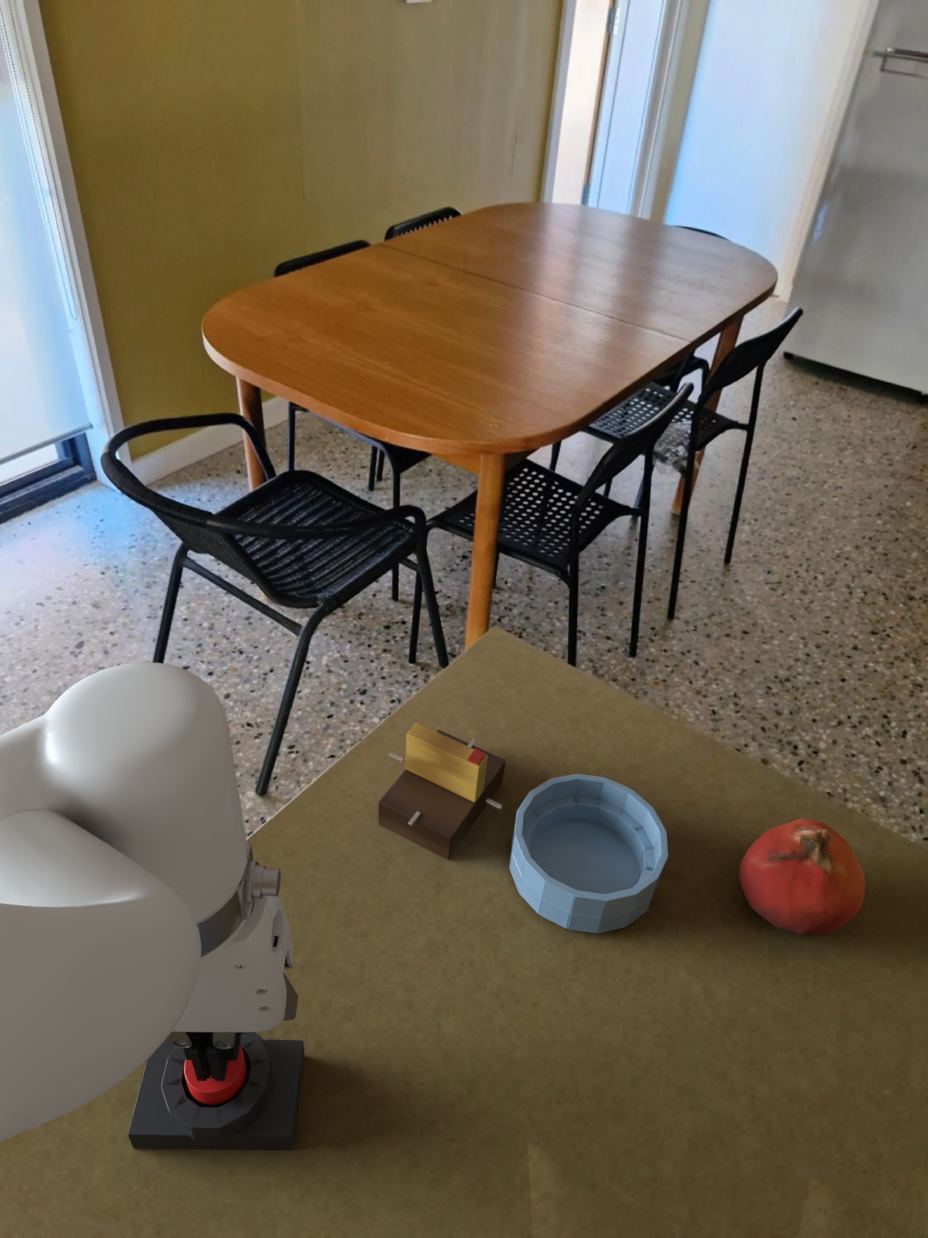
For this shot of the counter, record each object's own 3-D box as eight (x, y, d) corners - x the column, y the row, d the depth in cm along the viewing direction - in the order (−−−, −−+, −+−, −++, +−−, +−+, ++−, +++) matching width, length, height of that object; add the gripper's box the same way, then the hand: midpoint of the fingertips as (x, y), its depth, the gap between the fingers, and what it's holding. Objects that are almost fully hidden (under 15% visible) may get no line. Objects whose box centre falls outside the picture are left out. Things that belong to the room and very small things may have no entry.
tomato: (857, 890, 75) (892, 831, 70) (833, 977, 68) (870, 919, 63) (749, 840, 78) (775, 780, 73) (717, 919, 72) (743, 859, 66)
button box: (132, 1153, 56) (120, 1127, 53) (158, 1049, 61) (149, 1020, 58) (292, 1155, 56) (289, 1129, 54) (305, 1051, 61) (302, 1023, 59)
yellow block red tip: (404, 769, 78) (406, 731, 75) (414, 757, 79) (416, 720, 76) (475, 803, 75) (479, 765, 72) (483, 790, 76) (488, 753, 73)
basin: (623, 963, 68) (636, 927, 65) (483, 890, 72) (488, 853, 69) (674, 850, 76) (687, 813, 73) (546, 791, 81) (554, 754, 77)
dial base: (466, 877, 73) (469, 853, 71) (353, 818, 77) (353, 795, 75) (526, 787, 81) (530, 764, 79) (421, 738, 85) (422, 715, 83)
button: (181, 1105, 55) (177, 1093, 54) (194, 1046, 57) (191, 1033, 56) (240, 1106, 55) (238, 1093, 54) (250, 1047, 58) (248, 1034, 57)
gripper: (334, 827, 47) (342, 1000, 58) (43, 819, 46) (111, 996, 58) (318, 960, 41) (331, 1123, 53) (-15, 954, 40) (73, 1120, 52)
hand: (216, 1056), depth 55 cm, fingers closed
